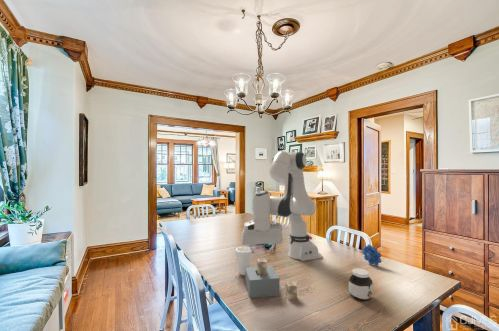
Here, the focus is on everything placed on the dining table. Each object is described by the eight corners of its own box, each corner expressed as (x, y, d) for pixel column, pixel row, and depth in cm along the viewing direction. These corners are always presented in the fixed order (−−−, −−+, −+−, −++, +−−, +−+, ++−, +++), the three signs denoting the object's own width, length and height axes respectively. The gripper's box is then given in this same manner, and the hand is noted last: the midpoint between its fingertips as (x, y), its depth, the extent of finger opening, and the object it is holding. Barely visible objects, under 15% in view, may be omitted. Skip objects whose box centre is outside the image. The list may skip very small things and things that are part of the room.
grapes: (358, 263, 147) (358, 244, 147) (363, 260, 151) (363, 242, 151) (378, 269, 138) (378, 249, 138) (383, 266, 142) (383, 246, 142)
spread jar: (359, 303, 103) (359, 276, 103) (340, 291, 113) (340, 267, 113) (378, 297, 108) (378, 272, 108) (358, 286, 118) (358, 263, 118)
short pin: (293, 294, 111) (293, 281, 111) (297, 299, 107) (297, 285, 107) (285, 295, 110) (285, 282, 110) (288, 299, 106) (288, 286, 106)
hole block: (271, 281, 123) (271, 265, 124) (279, 295, 110) (279, 278, 110) (245, 283, 121) (245, 267, 121) (249, 298, 107) (249, 280, 108)
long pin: (264, 286, 118) (264, 258, 118) (266, 290, 114) (266, 261, 114) (257, 287, 117) (257, 259, 117) (258, 291, 113) (258, 262, 113)
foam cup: (239, 277, 128) (239, 253, 128) (233, 270, 136) (233, 248, 136) (255, 273, 132) (255, 250, 132) (247, 267, 141) (247, 245, 141)
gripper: (280, 221, 121) (280, 248, 121) (240, 223, 117) (240, 251, 117) (284, 224, 114) (284, 253, 114) (242, 226, 111) (242, 256, 111)
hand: (262, 252), depth 116 cm, fingers open, 8 cm apart
